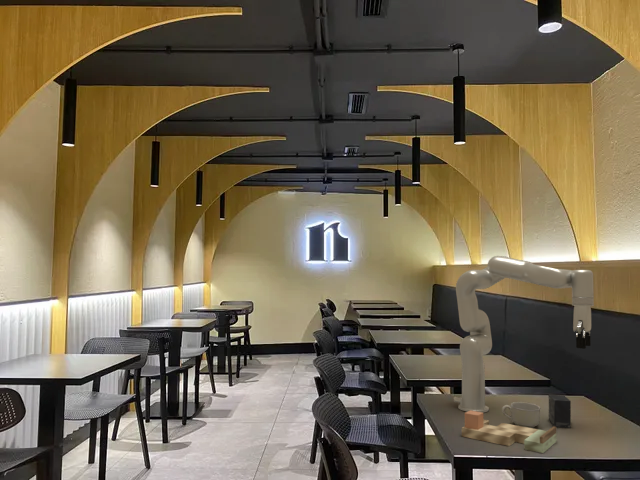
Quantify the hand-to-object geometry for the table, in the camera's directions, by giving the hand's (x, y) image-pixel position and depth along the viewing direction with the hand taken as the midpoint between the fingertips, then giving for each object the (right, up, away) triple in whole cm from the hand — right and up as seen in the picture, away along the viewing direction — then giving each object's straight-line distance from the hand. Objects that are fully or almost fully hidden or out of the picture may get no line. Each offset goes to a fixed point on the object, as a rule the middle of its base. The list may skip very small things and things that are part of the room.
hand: (583, 346), depth 206 cm
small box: (-7, -31, +4) cm, 32 cm away
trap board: (-34, -30, -15) cm, 48 cm away
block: (-45, -27, -11) cm, 54 cm away
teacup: (-23, -31, +2) cm, 39 cm away
